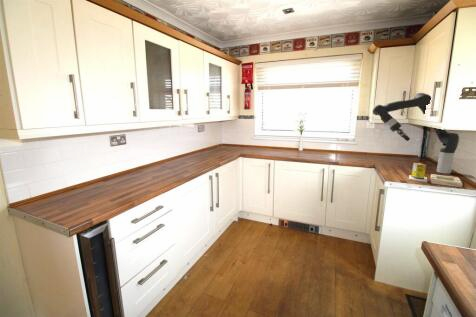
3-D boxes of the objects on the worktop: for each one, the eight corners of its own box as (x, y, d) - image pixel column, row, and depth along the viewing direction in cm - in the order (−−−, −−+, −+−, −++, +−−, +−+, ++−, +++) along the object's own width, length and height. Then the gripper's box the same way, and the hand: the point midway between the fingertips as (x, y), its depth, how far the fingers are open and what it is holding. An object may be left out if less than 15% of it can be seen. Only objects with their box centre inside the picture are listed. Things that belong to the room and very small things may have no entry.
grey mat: (409, 176, 187) (409, 175, 187) (426, 178, 181) (426, 177, 180) (408, 179, 178) (408, 178, 177) (427, 182, 171) (427, 181, 171)
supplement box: (424, 179, 176) (426, 164, 173) (415, 178, 177) (417, 164, 175) (419, 177, 181) (422, 163, 179) (411, 176, 183) (413, 162, 180)
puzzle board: (430, 177, 185) (430, 174, 184) (457, 180, 175) (458, 177, 175) (431, 183, 169) (432, 179, 168) (461, 187, 160) (462, 183, 159)
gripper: (396, 121, 182) (413, 137, 177) (398, 121, 193) (413, 136, 189) (388, 128, 186) (403, 144, 182) (389, 127, 197) (404, 142, 193)
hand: (408, 139), depth 185 cm, fingers open, 8 cm apart
